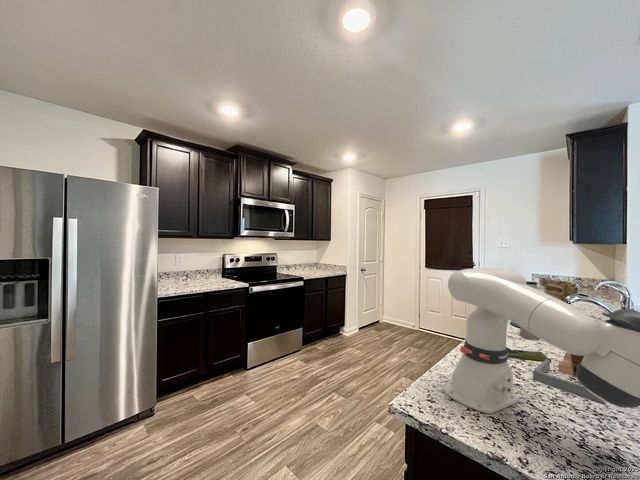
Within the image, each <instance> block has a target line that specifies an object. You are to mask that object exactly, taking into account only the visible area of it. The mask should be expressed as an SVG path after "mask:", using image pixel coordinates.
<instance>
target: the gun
mask: <svg viewBox="0 0 640 480" xmlns="http://www.w3.org/2000/svg"><path fill="white" fill-rule="evenodd" d="M506 348H507V351H508V359H515V360H519V361H532V362H540V363H542V362H543V361H544V360H546V359H547V360H550V363H551V362H552V358H550V357H547V355H545V353H543V352H542V351H538V350H537V351H533V350H531V351H530V350H522V349H511V348H509V347H508V346H506Z"/></svg>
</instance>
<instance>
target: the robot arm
mask: <svg viewBox="0 0 640 480" xmlns="http://www.w3.org/2000/svg"><path fill="white" fill-rule="evenodd" d="M526 282H527V280H526V279H525V277H524V276H523V274H521V272H519V271H515V270H513V269H508V268H504V267H501V268H494V267H493V268H491V267H490V268H464V269H460V270H457V271H454V272H453V273H451V274H450V275H449V277H448V282H447V288H448V291H449V293H450V295H451V297H452V298H453V299H455V300H456V301H459V302H462V303H465V304H469V305H470V304H471V305H473V306H476V308H475V309H474V310H473V311H472V312H471V313H470V314H469V315H468V316H467V318H466V326H465V327H466V329H465V330H466V332H465V334H466V336H465V340H464V343H463V345H460V348H459V351H460V353H462V355H461V356H460V358H459V360H458V361H457V364H456V365H455V368H454V370H453V371H452V376H451V378H450V379H449V380H448V381H447V382H446V384H445V385H444V387H443V390H442V391H443V392H444V394H446V396H448V397H449V398H451V399H453V401H456V402H458V403H460V404H462V405H463V406H467V407H468V408H471V409H473V410H475V411H477V412H478V411H479V412H482V413H485V414H491V415H492V414H495V413H497V412H498V411H501V410H504V409H505V408H508V407H510V406H512V405H514V404H517V403H520V396H518V395H517V393H515V392H514V391H515V390H514V389H515V388H514V372H513V370H512V368H511V367H510V365H509V364H508V360H509V358H508V351H507V348H508V347H507V330H508V323H509V321H510V322H512V323H514V324H515V325H517V326H519V328H520V327H522V328H524V329H525V330H527V331H528V332H530V333H532V334H533V335H535V336H537V337H538V338H540V340H542V341H544V342H546V343H547V344H549V345H551V346H554V347H555V348H557V349H559V350H562V351H564V352H565V353H566V352H569V353H571V354H574V355H578V356H584V358H583V360H582V362H581V363H579V364H578V367H577V370H576V373H575V377H576V379H577V381H578V382H579V384H580V385H582V386H584V387H585V388H586V389H587V390H588V391H589V392H590V393H592V394H593V395H594V396H596V397H597V398H599V399H601V400H602V402H606V403H608V404H611V405H613V406H615V407H618V408H623V409H624V408H627V409H629V408H631V409H632V408H633V409H635V408H638V407H640V310H639V309H638V310H637V309H632V308H626V309H617V310H614V311H612V312H609V313H607V312H602V313H600V315H603V316H604V317H606V318H608V319H607V320H599V319H596V318H594V317H592V316H590V315H589V314H587V313H586V312H584V311H582V310H580V309H578V308H576V307H575V306H573V305H569V304H567V303H565V302H563V301H561V300H559V299H557V298H555V297H552V296H550V295H548V294H546V293H545V291H541V290H540V289H539V290H537V289H535V288H533V287H530V286H528V285H527V283H526ZM506 347H507V348H506Z"/></svg>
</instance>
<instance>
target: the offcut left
mask: <svg viewBox="0 0 640 480" xmlns="http://www.w3.org/2000/svg"><path fill="white" fill-rule="evenodd" d="M558 372H559V373H562V374H565V375H568V376H572V377H574V376H575V375H576V365H573V364H570V363H566V362H563V360H561V361H560V362H559V363H558Z"/></svg>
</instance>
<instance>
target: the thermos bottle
mask: <svg viewBox="0 0 640 480" xmlns="http://www.w3.org/2000/svg"><path fill="white" fill-rule="evenodd" d="M526 283H527V285H528V286H530V287H533V288H535V289H537V290H539V291H540V289H539V288H538V282H536V281H526ZM519 336H520V337H521V338H523V339H525V340H531V341H540V340H541V339H540V338H538V337H537V336H535V335H533V334H532V333H530V332H528V331H527V330H525V329H524V328H522V327H520V326H519Z"/></svg>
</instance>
